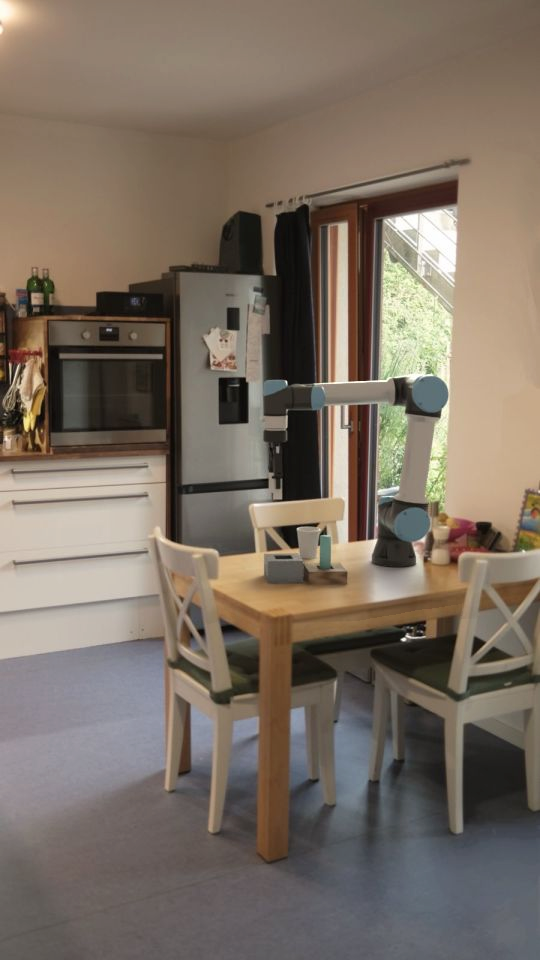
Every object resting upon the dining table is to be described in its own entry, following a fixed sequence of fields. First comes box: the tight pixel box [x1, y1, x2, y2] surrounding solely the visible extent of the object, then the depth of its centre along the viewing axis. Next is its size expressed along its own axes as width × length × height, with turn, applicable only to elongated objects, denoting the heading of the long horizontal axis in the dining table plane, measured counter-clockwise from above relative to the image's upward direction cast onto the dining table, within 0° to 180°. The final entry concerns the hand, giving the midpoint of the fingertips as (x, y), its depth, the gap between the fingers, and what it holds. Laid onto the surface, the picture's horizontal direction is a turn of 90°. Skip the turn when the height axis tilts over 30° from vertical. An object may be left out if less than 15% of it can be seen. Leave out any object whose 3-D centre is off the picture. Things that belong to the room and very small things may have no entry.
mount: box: [303, 562, 348, 586], centre depth 308 cm, size 12×12×4 cm
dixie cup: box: [296, 526, 321, 560], centre depth 341 cm, size 8×8×10 cm
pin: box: [319, 534, 332, 569], centre depth 308 cm, size 4×4×14 cm
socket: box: [263, 552, 304, 584], centre depth 309 cm, size 11×11×7 cm
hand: (275, 496), depth 310 cm, fingers open, 13 cm apart
